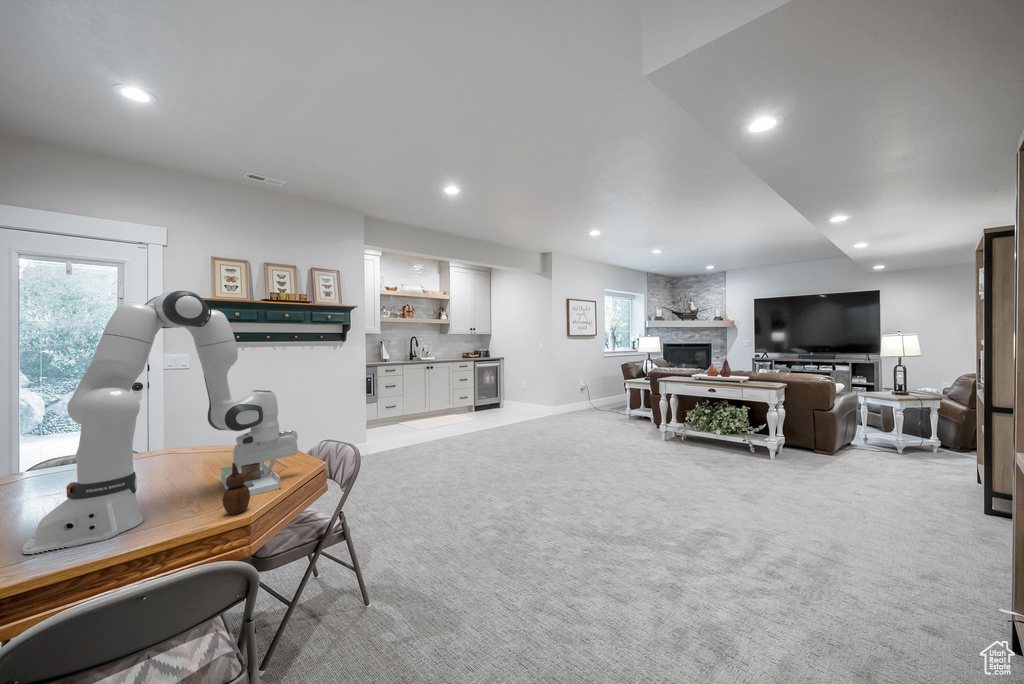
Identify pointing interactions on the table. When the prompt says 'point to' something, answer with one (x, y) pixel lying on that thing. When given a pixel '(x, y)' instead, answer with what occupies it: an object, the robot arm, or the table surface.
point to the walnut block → (251, 471)
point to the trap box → (258, 484)
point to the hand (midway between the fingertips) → (267, 472)
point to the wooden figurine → (236, 493)
